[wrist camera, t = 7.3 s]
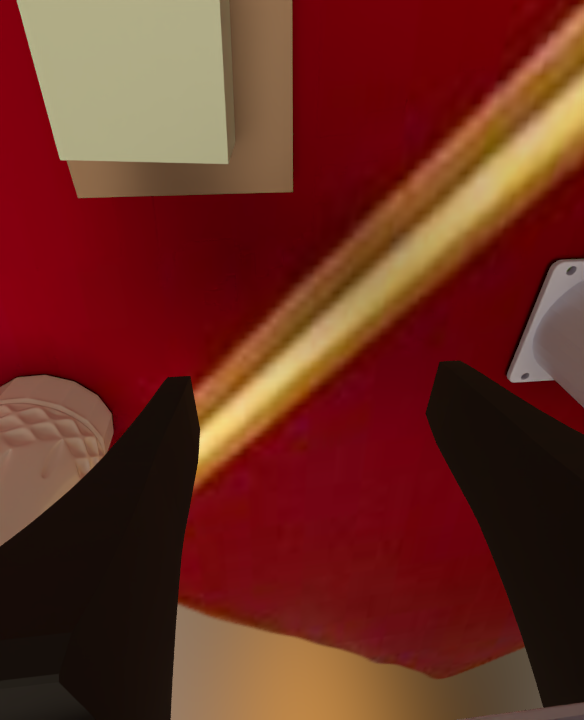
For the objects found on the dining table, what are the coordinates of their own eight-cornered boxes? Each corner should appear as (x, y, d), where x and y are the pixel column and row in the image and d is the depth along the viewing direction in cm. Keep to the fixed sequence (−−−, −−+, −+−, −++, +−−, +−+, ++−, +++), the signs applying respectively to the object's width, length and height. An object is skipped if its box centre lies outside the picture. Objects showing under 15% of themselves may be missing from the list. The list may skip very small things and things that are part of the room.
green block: (228, -12, 12) (215, -68, 7) (235, 142, 14) (228, 164, 10) (88, -21, 11) (-7, -85, 7) (118, 138, 13) (59, 160, 9)
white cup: (-38, 358, 21) (-222, 535, 12) (120, 370, 22) (47, 537, 14) (-2, 458, 25) (-122, 639, 17) (128, 464, 26) (76, 632, 18)
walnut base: (282, -86, 13) (291, -126, 10) (285, 177, 18) (292, 191, 15) (29, -93, 12) (-24, -137, 10) (102, 181, 17) (77, 198, 14)
